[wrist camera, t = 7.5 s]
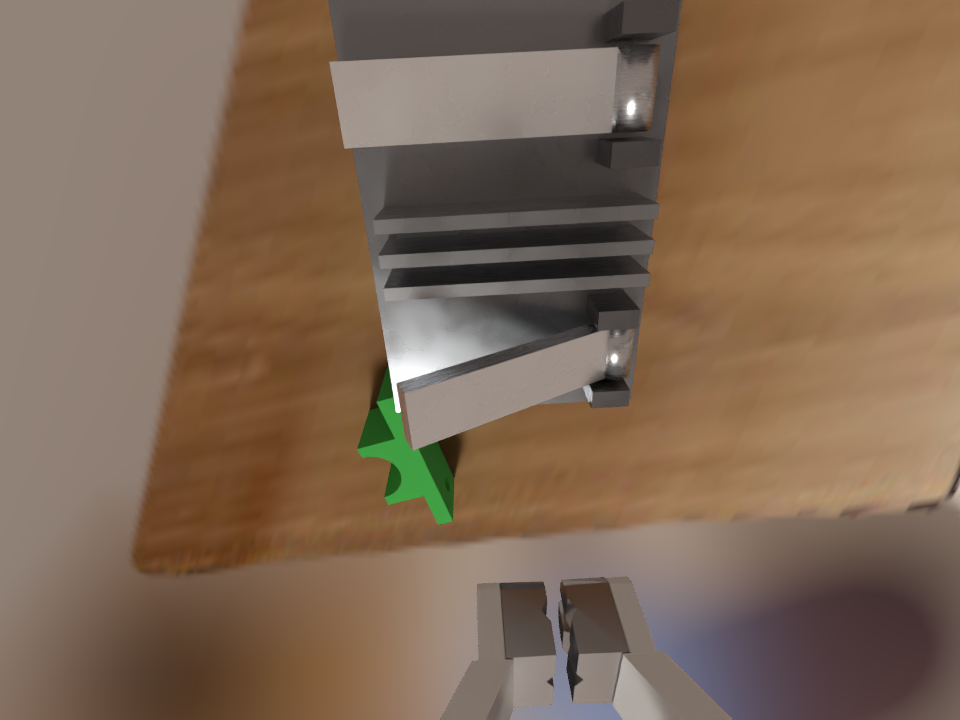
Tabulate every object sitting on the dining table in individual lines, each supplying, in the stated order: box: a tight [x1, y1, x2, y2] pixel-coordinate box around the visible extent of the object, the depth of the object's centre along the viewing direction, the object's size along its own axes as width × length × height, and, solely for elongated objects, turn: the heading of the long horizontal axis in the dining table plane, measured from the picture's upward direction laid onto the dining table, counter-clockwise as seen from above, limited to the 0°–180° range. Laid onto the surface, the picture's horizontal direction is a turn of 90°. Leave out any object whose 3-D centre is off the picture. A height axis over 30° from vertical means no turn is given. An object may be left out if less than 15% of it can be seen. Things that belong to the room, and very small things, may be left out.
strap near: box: [330, 44, 661, 148], centre depth 19 cm, size 13×3×2 cm, turn 93°
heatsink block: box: [328, 0, 682, 412], centre depth 24 cm, size 14×20×8 cm
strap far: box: [396, 323, 635, 450], centre depth 23 cm, size 13×3×2 cm, turn 94°
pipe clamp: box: [358, 366, 454, 525], centre depth 33 cm, size 11×4×5 cm, turn 17°
